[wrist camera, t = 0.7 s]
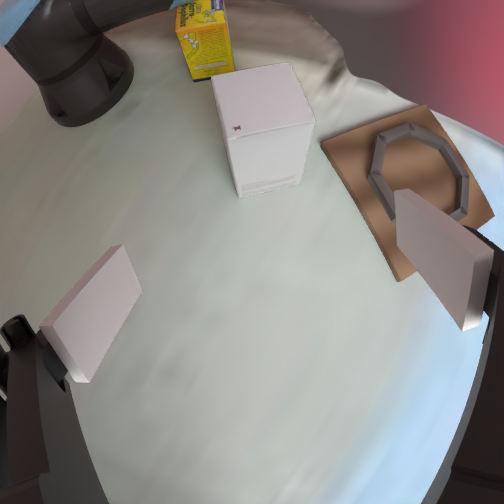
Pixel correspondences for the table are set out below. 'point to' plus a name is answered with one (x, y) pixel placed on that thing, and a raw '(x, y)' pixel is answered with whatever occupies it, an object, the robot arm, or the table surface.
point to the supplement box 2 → (264, 127)
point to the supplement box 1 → (204, 38)
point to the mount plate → (405, 176)
